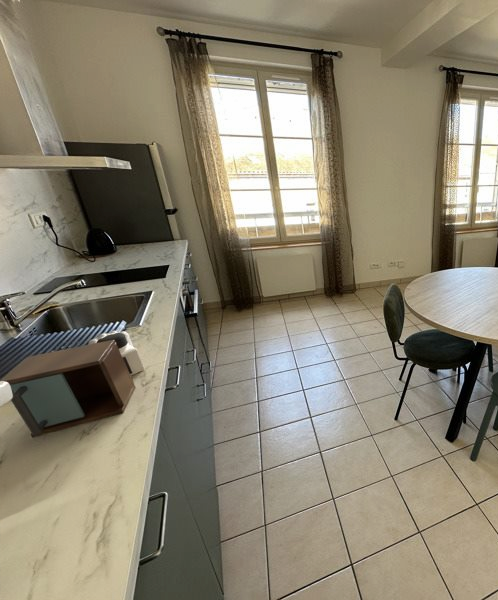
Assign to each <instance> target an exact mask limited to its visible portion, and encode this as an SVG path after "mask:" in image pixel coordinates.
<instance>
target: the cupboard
mask: <svg viewBox="0 0 498 600" xmlns="http://www.w3.org/2000/svg"><path fill="white" fill-rule="evenodd" d="M57 373H62V374H63V375H64V377H65V379H66V381H67V383H68V385H69V386H70V388H71V390H72V392H73V394H74V396H75V398H76V399H77V401H78V403H79V405H80V407H81V409H82V411H83V412H84V414H85V416H84V417H81V418H77V419H74V420H70V421H66V422H62V423H58V424H55V425H51V426H47V427H44V429H43V432H42V433H40V434H39V435H36V436H34V435H33V434H32V433H31V432H30V436H31V437H32V438H35V437H38V436H42V435H46V434H49V433H53V432H57V431H61V430H65V429H68V428H72V427H76V426H79V425H84V424H87V423H91V422H95V421H99V420H101V419H105V418H109V417H113V416H117V415H120V414H124V413H125V410H126V409H127V407H128V404H129V402H130V401H131V398H132V396H133V394H134V392H135V390H136V388H137V387H136V385H135V383H134V381H133V378H132V375H131V376H130V373H129V371H128V369H127V367H126V364H125V362H124V360H123V358H122V355H121V353H120V351H119V349H118V347H117V344H116V342H115V340H110V341H105V342H100V343H95V344H90V345H89V344H86V345H80V346H75V347H70V348H65V349H60V350H54V351H50V352H46V353H45V352H44V353H40V354H35V355H31V356H26V357H25V358H24V359H23V360H22V361H21V362H19V363H18V364H17V365H16V366H15V367H14V368H12V370H10V371H8V373H7V374H6V375H4V377H2V378H1V379H0V381H5V382H8V383H9V385H10V384H12V383H17V382H21V381H26V380H30V379H35V378H39V377H44V376H48V375H53V374H57ZM11 390H12V389H11ZM12 394H14V392H13V390H12Z"/></svg>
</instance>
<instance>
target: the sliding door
mask: <svg viewBox="0 0 498 600" xmlns="http://www.w3.org/2000/svg"><path fill="white" fill-rule="evenodd" d="M10 387H11V389H12V390H13V392H14V394H13V398H12V399H11V400H10V402H11V403H12V404H13V406H14V408H15V409H16V411H17V412H18V414H19V415H20V417H21V418H22V420H23V422H24V423H25V425H26V426H27V428H28V430H29V431H30V434H31V433H32V434H33V435H34V436H35V437H37V436H36V435H39V434H40V433H42V432H43V429H44V427H47V426H51V425H55V424H58V423H62V422H66V421H70V420H74V419H77V418H81V417H84V416H85V414H84V412H83V411H82V409H81V407H80V405H79V403H78V401H77V399H76V398H75V396H74V394H73V392H72V390H71V388H70V386H69V385H68V383H67V381H66V379H65V377H64V375H63V374H62V373H57V374H53V375H48V376H44V377H39V378H35V379H30V380H26V381H21V382H17V383H12V384H10ZM39 436H40V435H39Z"/></svg>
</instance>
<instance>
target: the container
mask: <svg viewBox="0 0 498 600" xmlns="http://www.w3.org/2000/svg"><path fill="white" fill-rule="evenodd" d="M110 340H115V342H116V344H117V347H118V349H119V351H120V353H121V355H122V358H123V360H124V362H125V364H126V367H127V369H128V371H129V373H130V376H131V377H132V376H134V375H136V374H138V373H140V372H142V371H145V366H144V363H143V361H142V359H141V356H140V354H139V352H138V349H137V348H135V347H134V346H133V347H132V346H130V345H129V344H128V341H127V339H126V337H125V334H123V333H111V334H108V335H105V336H103V337H101V338H100V339H99V340H98V341H97V343H100V342H105V341H110Z"/></svg>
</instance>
